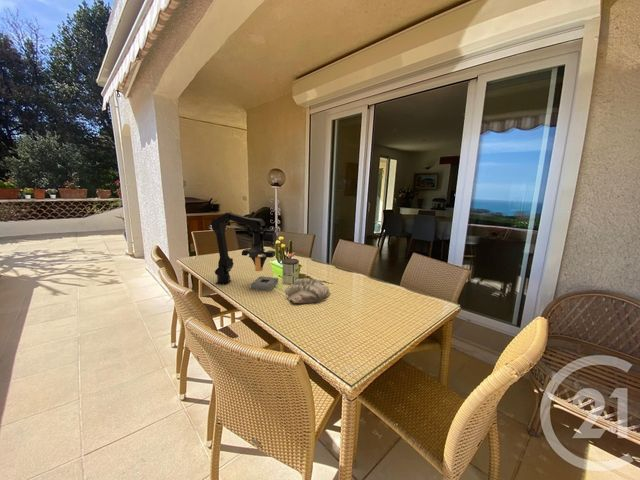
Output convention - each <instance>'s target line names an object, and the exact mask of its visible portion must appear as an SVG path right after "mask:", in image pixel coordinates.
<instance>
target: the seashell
mask: <svg viewBox="0 0 640 480" xmlns="http://www.w3.org/2000/svg"><path fill="white" fill-rule="evenodd" d="M284 294H285V296H288V297H287V299H288V300H289V301H291V302H292V303H297V304H311V303H316V302H321V301H323V300H324V299H327V298H328V297H329V296H331V291H329V288H328V286H327V285H323V282H322V280H320V279H314V278H309V277H308V278H298V279H297V280H296V281H295V284H294V285H287V287H286V286H285V288H284Z"/></svg>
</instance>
